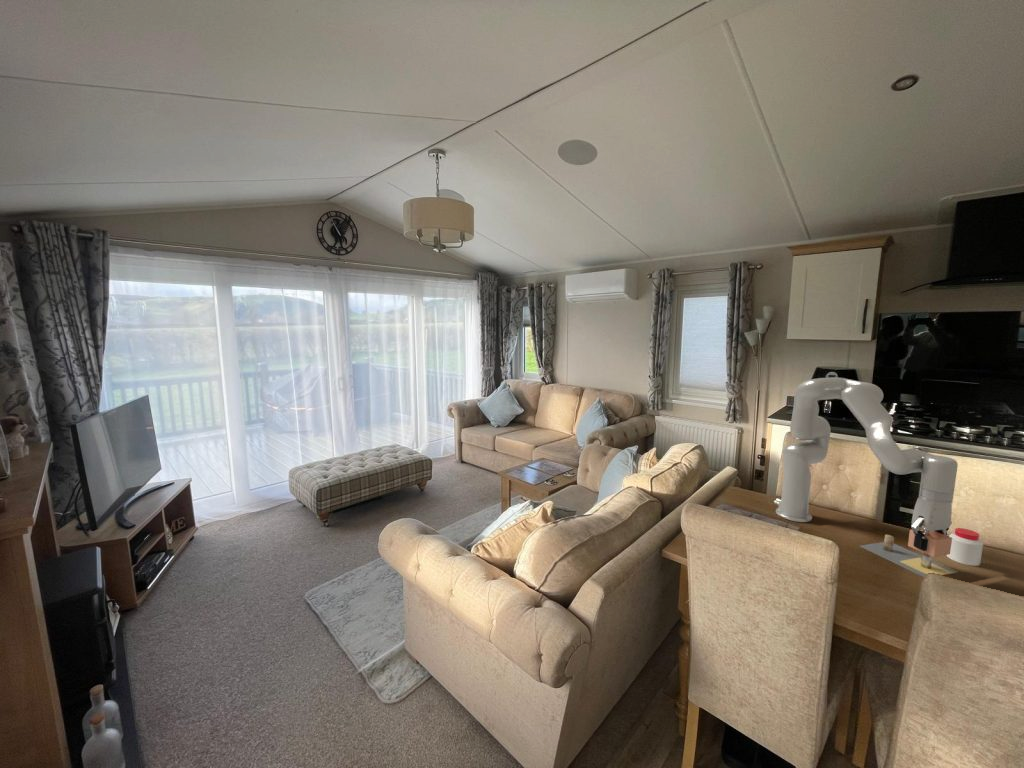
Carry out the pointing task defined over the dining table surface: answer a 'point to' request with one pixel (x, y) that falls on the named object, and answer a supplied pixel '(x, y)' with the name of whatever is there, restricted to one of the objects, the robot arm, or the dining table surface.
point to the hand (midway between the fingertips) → (928, 546)
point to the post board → (907, 558)
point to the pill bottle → (966, 547)
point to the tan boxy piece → (933, 543)
